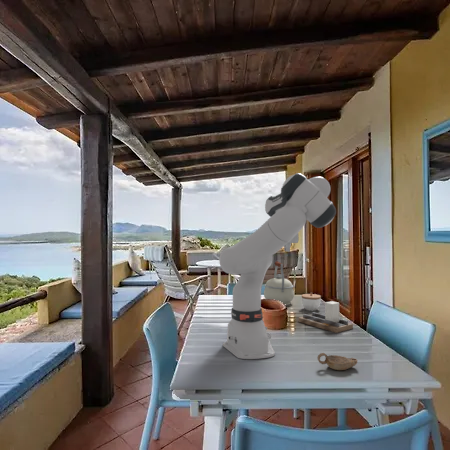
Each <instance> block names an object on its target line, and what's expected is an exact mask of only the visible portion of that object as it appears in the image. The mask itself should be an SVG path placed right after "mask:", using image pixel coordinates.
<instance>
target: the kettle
mask: <svg viewBox="0 0 450 450" xmlns="http://www.w3.org/2000/svg"><path fill="white" fill-rule="evenodd" d="M274 265H275V269H274V274H273V278H270V279H267V281H266V283H265V284H264V291H263V297H264V299H265V300H266V299H275V300H279V301H281V302H283V303H284V304H286V305H285V306H290V305H291V302H292V301H293V300H294V298H295V291H294V285H293V283H292V282H291V281H290V280H289V279H287V278H285V273H284V266H285V265H284V263H282V262H280V261H274ZM278 268H280V273H278V274H277V272H278Z"/></svg>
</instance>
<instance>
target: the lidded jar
mask: <svg viewBox="0 0 450 450" xmlns="http://www.w3.org/2000/svg"><path fill="white" fill-rule="evenodd" d="M321 303H322V295H320V294H316V293H314V294H313V292H310V293H304V294H302V295H301V304H302V306H303V307H304V309H305V310H306V311H312V312H315V311H317V310H318V309H319V308H320V305H321Z"/></svg>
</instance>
